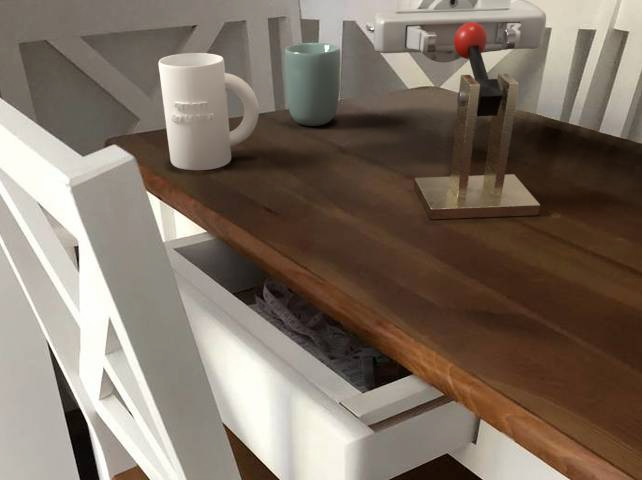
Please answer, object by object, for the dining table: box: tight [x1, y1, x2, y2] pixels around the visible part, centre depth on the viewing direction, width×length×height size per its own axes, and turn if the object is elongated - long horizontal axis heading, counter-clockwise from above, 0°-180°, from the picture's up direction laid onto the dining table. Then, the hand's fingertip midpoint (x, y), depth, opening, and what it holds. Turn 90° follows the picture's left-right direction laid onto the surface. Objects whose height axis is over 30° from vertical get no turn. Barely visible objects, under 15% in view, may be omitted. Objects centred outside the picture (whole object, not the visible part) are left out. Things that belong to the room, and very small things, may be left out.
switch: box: [454, 22, 502, 117], centre depth 80 cm, size 13×4×4 cm, turn 4°
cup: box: [284, 42, 342, 127], centre depth 107 cm, size 8×8×10 cm
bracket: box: [413, 73, 541, 220], centre depth 80 cm, size 10×12×13 cm
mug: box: [157, 52, 260, 171], centre depth 93 cm, size 8×12×12 cm
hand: (471, 42), depth 82 cm, fingers open, 8 cm apart
